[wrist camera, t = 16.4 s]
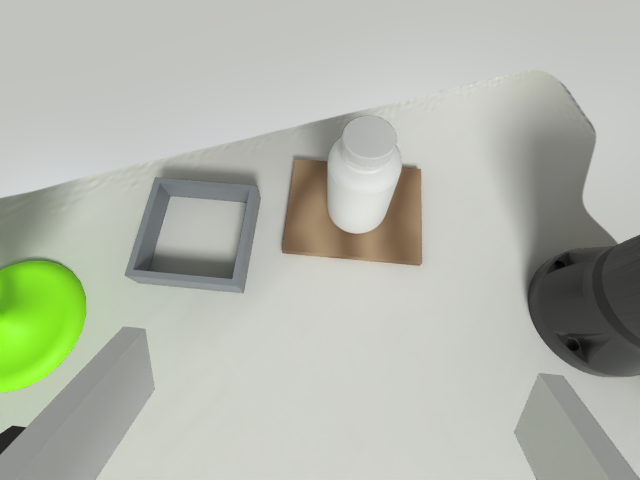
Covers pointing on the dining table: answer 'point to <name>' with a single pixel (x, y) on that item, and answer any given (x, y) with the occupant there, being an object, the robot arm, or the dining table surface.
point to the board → (330, 241)
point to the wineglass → (37, 320)
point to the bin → (154, 220)
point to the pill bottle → (362, 174)
